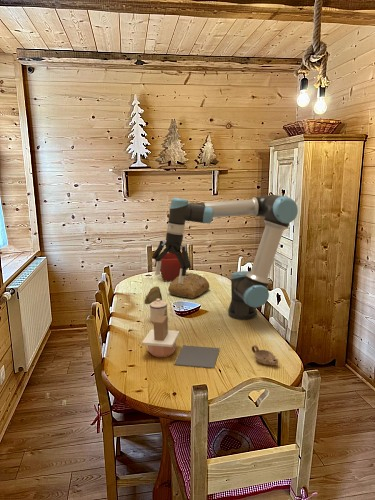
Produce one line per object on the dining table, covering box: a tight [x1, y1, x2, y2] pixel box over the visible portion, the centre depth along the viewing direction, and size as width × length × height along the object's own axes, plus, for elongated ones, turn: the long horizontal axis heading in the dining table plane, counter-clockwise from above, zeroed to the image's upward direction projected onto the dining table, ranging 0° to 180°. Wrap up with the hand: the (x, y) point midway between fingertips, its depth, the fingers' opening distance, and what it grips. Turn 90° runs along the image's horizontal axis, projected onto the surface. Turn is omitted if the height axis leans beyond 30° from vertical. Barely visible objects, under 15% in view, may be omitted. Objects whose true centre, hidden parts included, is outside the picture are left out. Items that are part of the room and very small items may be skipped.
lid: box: [141, 315, 181, 347], centre depth 157 cm, size 13×13×9 cm
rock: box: [144, 286, 163, 304], centre depth 218 cm, size 11×9×10 cm
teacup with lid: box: [149, 299, 168, 323], centre depth 192 cm, size 12×9×12 cm
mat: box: [174, 344, 220, 369], centre depth 154 cm, size 16×16×1 cm
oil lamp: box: [251, 344, 279, 366], centre depth 149 cm, size 13×8×5 cm, turn 33°
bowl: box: [147, 341, 177, 358], centre depth 159 cm, size 11×11×6 cm
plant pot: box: [159, 253, 183, 282], centre depth 259 cm, size 19×19×17 cm
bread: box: [167, 272, 210, 299], centre depth 231 cm, size 24×21×12 cm
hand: (168, 278), depth 169 cm, fingers open, 13 cm apart
